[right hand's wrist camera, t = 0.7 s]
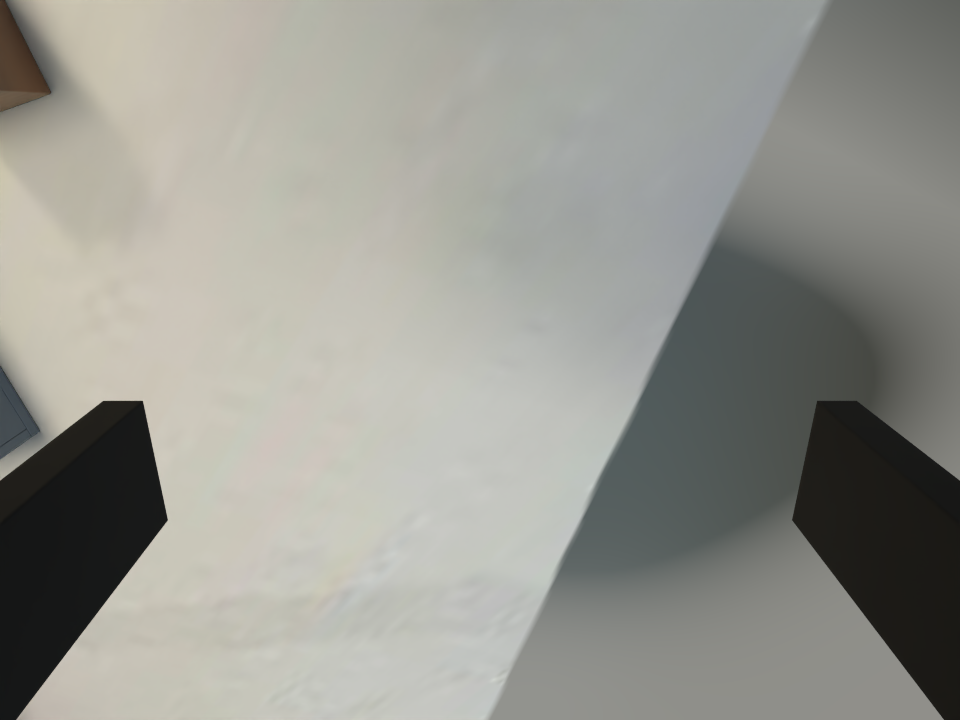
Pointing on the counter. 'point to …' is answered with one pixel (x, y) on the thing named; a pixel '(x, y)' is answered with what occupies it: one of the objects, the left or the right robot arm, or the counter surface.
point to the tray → (13, 418)
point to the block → (17, 65)
